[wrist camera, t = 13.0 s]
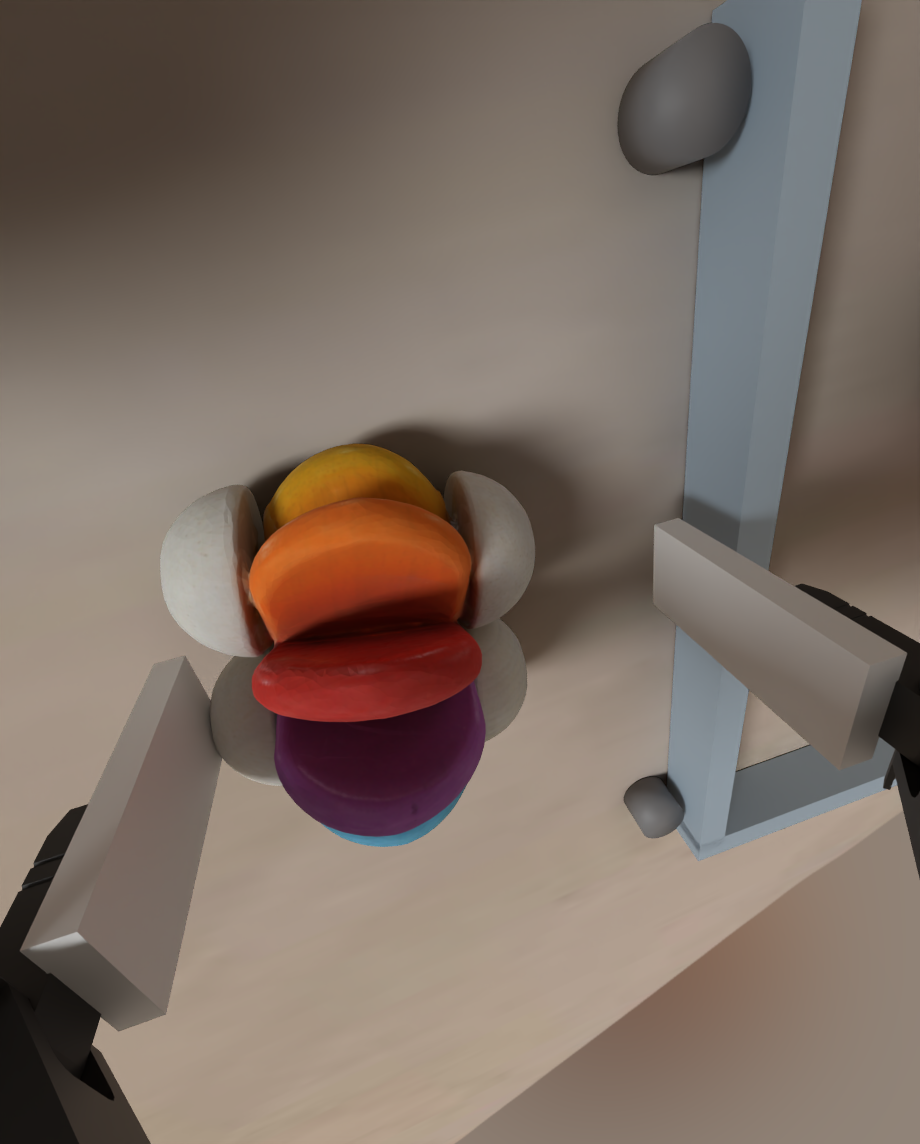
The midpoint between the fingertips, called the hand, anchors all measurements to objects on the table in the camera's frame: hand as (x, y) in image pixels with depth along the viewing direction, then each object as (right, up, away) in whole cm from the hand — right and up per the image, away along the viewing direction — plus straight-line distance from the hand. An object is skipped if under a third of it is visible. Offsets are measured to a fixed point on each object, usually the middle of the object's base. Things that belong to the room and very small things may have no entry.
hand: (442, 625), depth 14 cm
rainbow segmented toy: (-2, +1, +1) cm, 3 cm away
